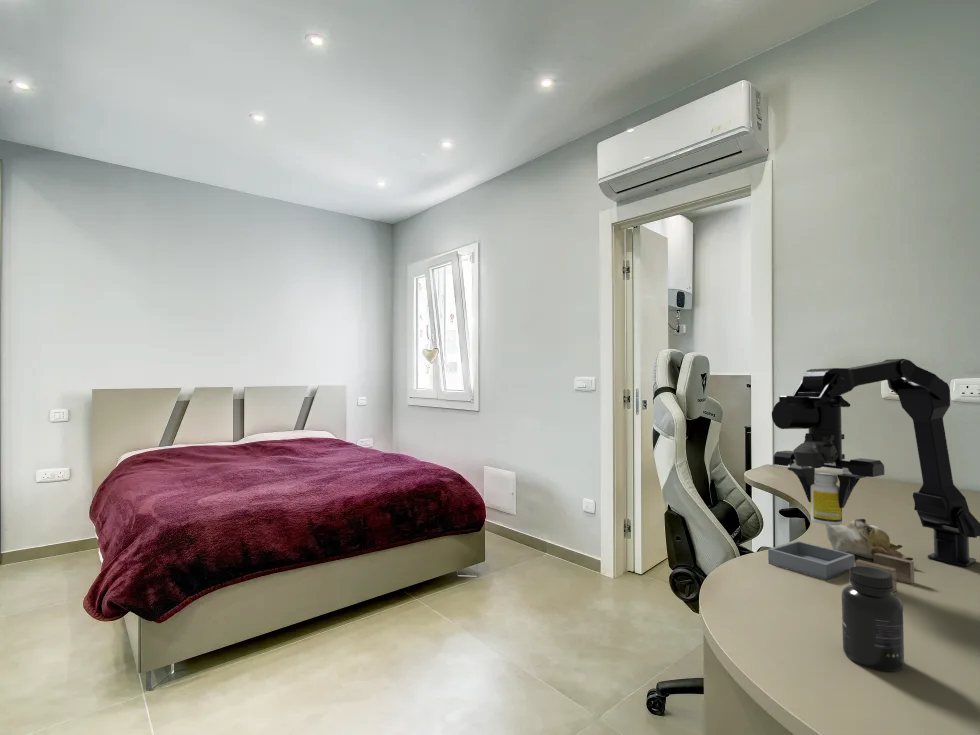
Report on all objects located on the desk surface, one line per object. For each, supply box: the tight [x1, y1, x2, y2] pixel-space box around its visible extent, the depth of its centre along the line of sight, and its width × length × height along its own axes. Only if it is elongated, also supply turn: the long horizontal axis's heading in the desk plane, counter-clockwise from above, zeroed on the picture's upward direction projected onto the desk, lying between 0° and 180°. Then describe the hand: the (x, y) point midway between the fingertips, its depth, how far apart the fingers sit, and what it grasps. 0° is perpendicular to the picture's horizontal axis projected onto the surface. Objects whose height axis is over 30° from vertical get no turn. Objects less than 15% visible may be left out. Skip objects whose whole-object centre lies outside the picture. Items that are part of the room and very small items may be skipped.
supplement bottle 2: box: [841, 566, 905, 673], centre depth 70 cm, size 7×7×12 cm
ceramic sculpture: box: [825, 518, 914, 561], centre depth 113 cm, size 11×9×15 cm
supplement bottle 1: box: [810, 472, 843, 526], centre depth 105 cm, size 5×5×10 cm
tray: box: [767, 540, 855, 581], centre depth 107 cm, size 11×11×3 cm
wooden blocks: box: [854, 553, 915, 594], centre depth 98 cm, size 9×6×4 cm, turn 121°
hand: (826, 505), depth 105 cm, fingers closed on supplement bottle 1, 5 cm apart
